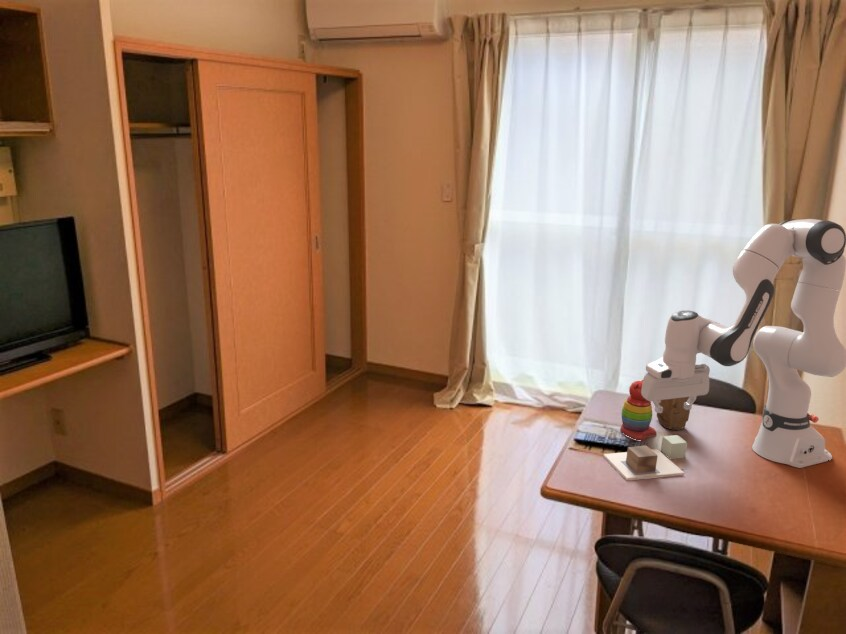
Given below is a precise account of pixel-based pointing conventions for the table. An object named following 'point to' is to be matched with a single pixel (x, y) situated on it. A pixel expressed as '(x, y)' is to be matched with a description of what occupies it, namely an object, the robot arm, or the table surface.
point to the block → (673, 413)
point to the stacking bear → (637, 414)
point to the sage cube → (673, 446)
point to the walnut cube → (641, 459)
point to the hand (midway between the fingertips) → (673, 410)
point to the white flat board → (662, 470)
